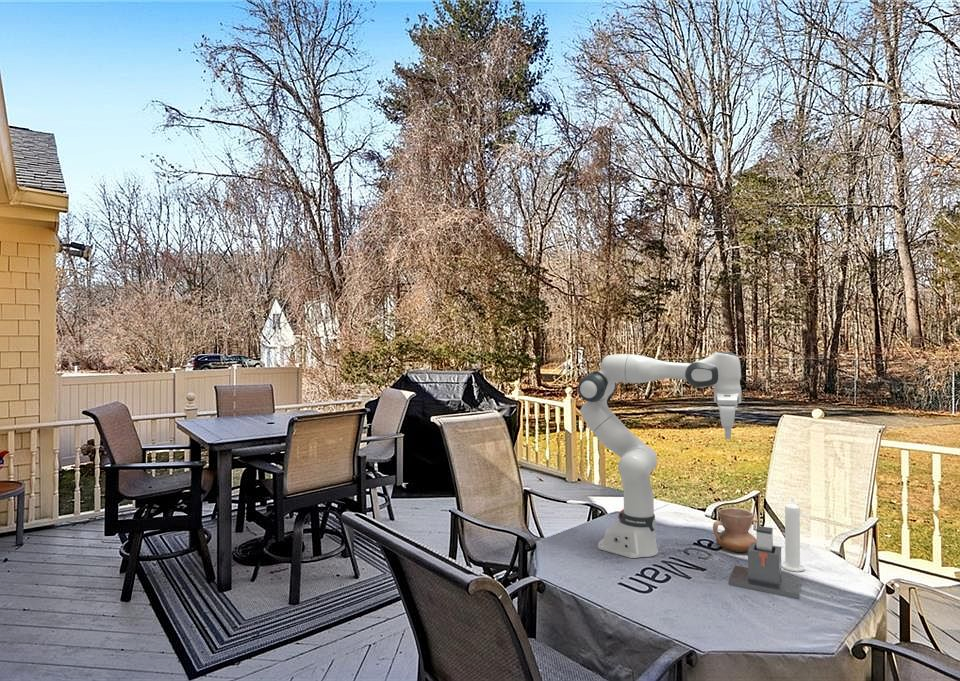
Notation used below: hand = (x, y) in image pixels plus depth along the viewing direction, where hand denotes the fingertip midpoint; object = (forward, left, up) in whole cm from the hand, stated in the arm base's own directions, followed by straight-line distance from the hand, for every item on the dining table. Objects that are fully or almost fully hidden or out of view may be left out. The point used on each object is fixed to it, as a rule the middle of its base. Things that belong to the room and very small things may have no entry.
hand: (728, 437), depth 199 cm
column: (+12, -7, -44) cm, 46 cm away
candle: (+19, +12, -46) cm, 52 cm away
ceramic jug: (-1, +22, -47) cm, 51 cm away
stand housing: (+12, -7, -46) cm, 48 cm away
